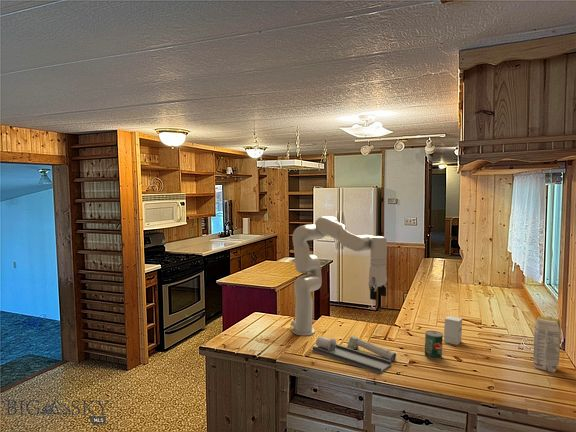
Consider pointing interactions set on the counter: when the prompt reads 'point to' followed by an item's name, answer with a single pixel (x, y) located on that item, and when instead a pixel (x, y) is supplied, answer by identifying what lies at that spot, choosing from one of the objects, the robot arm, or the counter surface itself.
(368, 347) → the white electric toothbrush
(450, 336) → the supplement box
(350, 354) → the pipe jig board
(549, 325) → the juice carton
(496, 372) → the counter surface
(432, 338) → the canned tomato
